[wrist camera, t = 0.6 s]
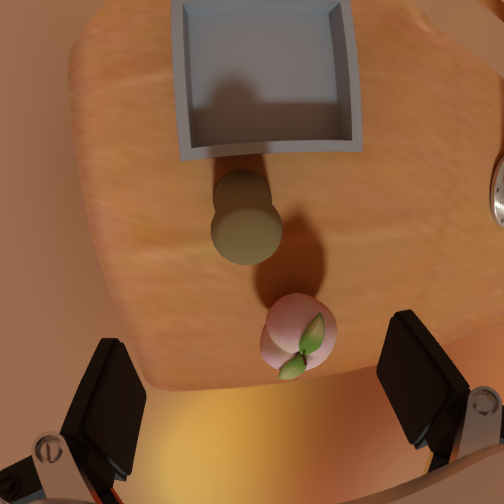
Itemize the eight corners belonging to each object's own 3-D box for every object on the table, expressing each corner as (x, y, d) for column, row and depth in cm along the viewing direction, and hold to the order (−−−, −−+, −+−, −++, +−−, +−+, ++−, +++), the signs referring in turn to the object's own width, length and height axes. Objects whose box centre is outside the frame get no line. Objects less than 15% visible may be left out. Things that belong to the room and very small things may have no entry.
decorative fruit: (310, 338, 38) (329, 394, 29) (251, 333, 37) (257, 392, 28) (333, 279, 34) (363, 331, 25) (268, 270, 33) (281, 324, 24)
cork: (200, 197, 29) (184, 235, 19) (245, 158, 28) (253, 175, 18) (239, 238, 31) (243, 292, 21) (283, 201, 30) (309, 241, 20)
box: (333, 10, 21) (348, -5, 17) (344, 147, 28) (362, 151, 24) (179, 12, 21) (170, -4, 17) (188, 156, 27) (180, 161, 23)
